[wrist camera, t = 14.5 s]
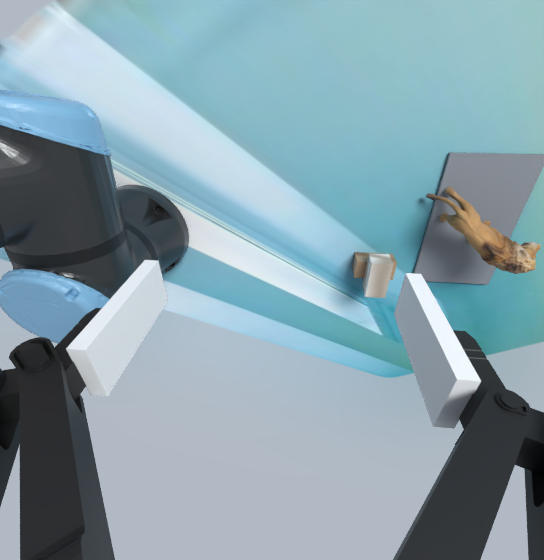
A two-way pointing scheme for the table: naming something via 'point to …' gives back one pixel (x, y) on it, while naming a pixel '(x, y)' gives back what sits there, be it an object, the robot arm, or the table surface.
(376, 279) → the brick stack
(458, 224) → the lion figurine
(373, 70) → the table surface
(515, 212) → the gray mat
